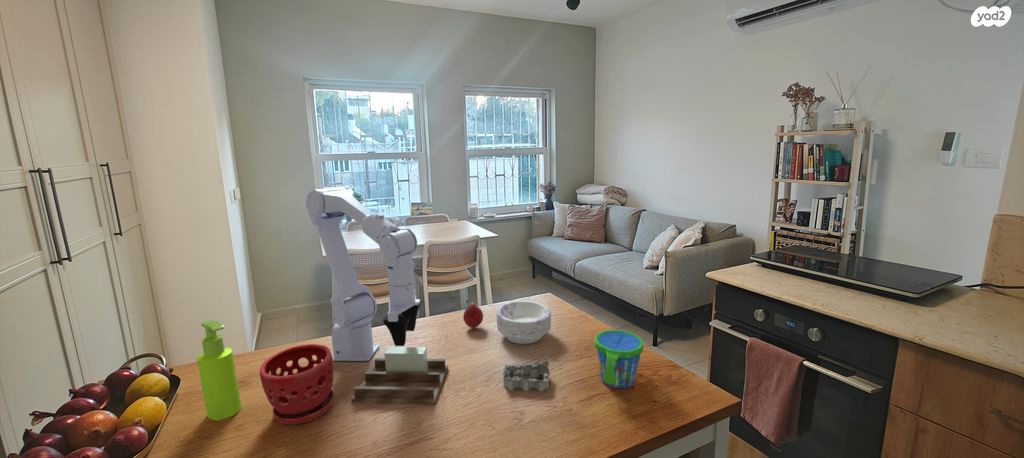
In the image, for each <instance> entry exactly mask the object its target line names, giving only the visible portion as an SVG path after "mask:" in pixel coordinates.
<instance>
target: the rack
mask: <svg viewBox="0 0 1024 458" xmlns="http://www.w3.org/2000/svg"><path fill="white" fill-rule="evenodd" d="M427 363H428V372H386V365H385V357H384V358H383V357H375V358H374V366H373V367H372V369H371V370H369V371H365V373H364V378H365V379H364V380H363V382H362V383H361V384H360V385H356V386H354V388H353V395H352V397H351V398H350V399H351V403H352V404H394V405H395V404H397V405H398V404H399V405H400V404H403V405H407V404H408V405H410V404H411V405H436V402H437V399H438V397H439V394H440V393H441V389H442V386H443V384H444V381H445V380H446V379H445V378H446V375H447V373H448V371H449V365H446V358H427Z"/></svg>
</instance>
